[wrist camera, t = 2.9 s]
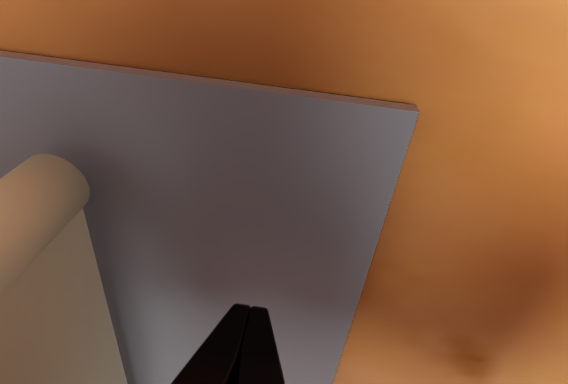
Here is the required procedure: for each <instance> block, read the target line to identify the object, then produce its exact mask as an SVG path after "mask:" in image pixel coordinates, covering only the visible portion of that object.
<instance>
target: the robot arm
mask: <svg viewBox="0 0 568 384" xmlns="http://www.w3.org/2000/svg"><path fill="white" fill-rule="evenodd" d="M171 384H285V380H284V376H283V372H282V367H281V363H280V359H279V354H278V350H277V346H276V341H275V337H274V333H273V328H272V324H271V320H270V315H269V311H268V309H267V308H265V307H259V306H252V307H250V306H249V305H245V304H239V303H235V304H233V305H232V306H231V308H230V309H229V310H228V311H227V313H226V314H225V315H224V317H223V318H222V319H221V320H220V322H219V323H218V324H217V325H216V327H215V328H214V329H213V331H212V332H211V333H210V334H209V336H208V337H207V338H206V339H205V341H204V342H203V343H202V345H201V346H200V347H199V348H198V350H197V351H196V352H195V353H194V355H193V356H192V357H191V358H190V360H189V361H188V362H187V364H186V365H185V366H184V367H183V369H182V370H181V371H180V372H179V374H178V375H177V376H176V378H175V379H174V380H173V381H172V383H171Z"/></svg>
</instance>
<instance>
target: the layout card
mask: <svg viewBox="0 0 568 384" xmlns="http://www.w3.org/2000/svg"><path fill="white" fill-rule="evenodd" d="M418 115H419V110H418V108H417V106H416V105H413V104H405V103H397V102H390V101H382V100H375V99H367V98H359V97H352V96H344V95H337V94H329V93H321V92H314V91H306V90H299V89H291V88H283V87H276V86H268V85H261V84H253V83H245V82H238V81H230V80H223V79H215V78H207V77H200V76H192V75H185V74H177V73H169V72H162V71H154V70H147V69H139V68H131V67H124V66H116V65H109V64H101V63H93V62H86V61H78V60H71V59H63V58H55V57H48V56H40V55H33V54H25V53H17V52H10V51H2V50H0V178H2V177H3V176H5V175H6V174H7V173H9V172H10V171H12V170H13V169H14V168H16V167H17V166H19V165H20V164H21V163H23V162H24V161H25V160H27V159H28V158H30V157H31V156H33V155H36V154H51V155H55V156H58V157H61V158H63V159H65V160H67V161H68V162H70V163H71V164H73V165H74V166H75V167H76V168H77V169H78V170H79V171H80V172H81V173H82V174H83V176H84V177H85V179H86V180H87V182H88V185H89V188H90V197H89V200H88V202H87V204H86V205H85V206H84V207H83V211H84V215H85V219H86V223H87V226H88V230H89V234H90V238H91V242H92V246H93V250H94V254H95V258H96V262H97V266H98V270H99V274H100V277H101V281H102V285H103V289H104V293H105V297H106V301H107V305H108V309H109V313H110V317H111V321H112V325H113V328H114V332H115V336H116V340H117V344H118V348H119V352H120V356H121V360H122V364H123V368H124V372H125V376H126V379H127V383H128V384H171V383H172V381H173V380H174V379H175V378H176V376H177V375H178V374H179V372H180V371H181V370H182V369H183V367H184V366H185V365H186V364H187V362H188V361H189V360H190V358H191V357H192V356H193V355H194V353H195V352H196V351H197V350H198V348H199V347H200V346H201V345H202V343H203V342H204V341H205V339H206V338H207V337H208V336H209V334H210V333H211V332H212V331H213V329H214V328H215V327H216V325H217V324H218V323H219V322H220V320H221V319H222V318H223V317H224V315H225V314H226V313H227V311H228V310H229V309H230V308H231V306H232V305H233V304H235V303H239V304H245V305H249V306H250V307H252V306H259V307H265V308H267V309H268V311H269V315H270V320H271V324H272V328H273V333H274V337H275V341H276V346H277V350H278V354H279V359H280V363H281V367H282V372H283V376H284V380H285V384H333V381H334V377H335V374H336V371H337V368H338V365H339V362H340V359H341V356H342V352H343V349H344V346H345V343H346V340H347V337H348V334H349V331H350V327H351V324H352V321H353V318H354V315H355V312H356V309H357V306H358V303H359V299H360V296H361V293H362V290H363V287H364V284H365V281H366V278H367V274H368V271H369V268H370V265H371V262H372V259H373V256H374V253H375V249H376V246H377V243H378V240H379V237H380V234H381V231H382V228H383V225H384V221H385V218H386V215H387V212H388V209H389V206H390V203H391V200H392V196H393V193H394V190H395V187H396V184H397V181H398V178H399V175H400V171H401V168H402V165H403V162H404V159H405V156H406V153H407V150H408V146H409V143H410V140H411V137H412V134H413V131H414V128H415V125H416V122H417V118H418Z"/></svg>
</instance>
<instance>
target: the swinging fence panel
mask: <svg viewBox="0 0 568 384" xmlns="http://www.w3.org/2000/svg"><path fill="white" fill-rule="evenodd" d="M89 197H90V188H89V185H88V182H87V180H86V179H85V177H84V176H83V174H82V173H81V172H80V171H79V170H78V169H77V168H76V167H75V166H74V165H73V164H71V163H70V162H68V161H67V160H65V159H63V158H61V157H58V156H55V155H51V154H36V155H33V156H31V157H30V158H28V159H27V160H25V161H24V162H23V163H21V164H20V165H19V166H17V167H16V168H14V169H13V170H12V171H10V172H9V173H7V174H6V175H5V176H3V177H2V178H0V384H128V383H127V379H126V376H125V372H124V368H123V364H122V360H121V356H120V352H119V348H118V344H117V340H116V336H115V332H114V328H113V325H112V321H111V317H110V313H109V309H108V305H107V301H106V297H105V293H104V289H103V285H102V281H101V277H100V274H99V270H98V266H97V262H96V258H95V254H94V250H93V246H92V242H91V238H90V234H89V230H88V226H87V223H86V219H85V215H84V211H83V207H84V206H85V205H86V204H87V202H88V200H89Z"/></svg>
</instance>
